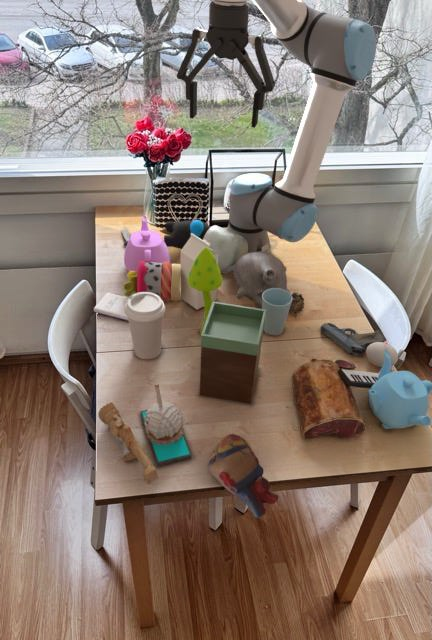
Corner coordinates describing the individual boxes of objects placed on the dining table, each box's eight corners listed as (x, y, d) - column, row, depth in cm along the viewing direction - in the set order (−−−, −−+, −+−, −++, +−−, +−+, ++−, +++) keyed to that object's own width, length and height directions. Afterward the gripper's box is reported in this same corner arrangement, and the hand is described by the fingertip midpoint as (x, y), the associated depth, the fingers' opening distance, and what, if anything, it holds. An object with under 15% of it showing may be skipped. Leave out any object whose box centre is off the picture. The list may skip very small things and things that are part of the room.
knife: (111, 228, 175) (125, 225, 177) (111, 232, 176) (125, 228, 178) (133, 253, 165) (148, 250, 167) (134, 257, 166) (149, 253, 168)
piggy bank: (295, 312, 147) (273, 276, 138) (242, 331, 154) (218, 298, 145) (292, 270, 159) (272, 234, 149) (243, 289, 165) (220, 256, 156)
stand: (210, 361, 134) (212, 312, 124) (258, 369, 133) (264, 320, 123) (199, 395, 126) (200, 346, 116) (250, 404, 125) (256, 355, 114)
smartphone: (157, 463, 111) (140, 411, 120) (157, 466, 111) (140, 413, 121) (192, 455, 112) (172, 404, 122) (192, 457, 113) (172, 406, 123)
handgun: (352, 309, 148) (320, 324, 143) (391, 337, 140) (359, 353, 135) (350, 316, 150) (318, 331, 144) (388, 344, 142) (356, 361, 137)
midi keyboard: (390, 373, 132) (403, 387, 129) (387, 377, 133) (399, 391, 130) (340, 367, 123) (352, 382, 119) (336, 372, 123) (348, 386, 120)
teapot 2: (348, 417, 122) (364, 381, 114) (369, 382, 130) (385, 347, 122) (414, 450, 117) (435, 415, 109) (431, 412, 126) (451, 377, 118)
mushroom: (197, 318, 146) (199, 234, 129) (225, 328, 144) (230, 244, 126) (181, 335, 141) (180, 250, 123) (209, 346, 138) (213, 261, 121)
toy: (165, 210, 163) (215, 213, 162) (168, 236, 173) (215, 239, 172) (162, 232, 159) (213, 235, 158) (165, 258, 169) (213, 261, 168)
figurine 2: (375, 330, 135) (370, 352, 140) (364, 342, 132) (359, 363, 136) (405, 342, 132) (399, 364, 136) (395, 355, 128) (389, 376, 133)
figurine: (147, 492, 107) (100, 429, 118) (165, 481, 109) (116, 419, 120) (141, 471, 102) (92, 407, 113) (160, 459, 103) (109, 397, 115)
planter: (245, 230, 152) (211, 218, 155) (227, 272, 152) (194, 259, 155) (255, 244, 163) (223, 233, 166) (238, 283, 164) (207, 270, 167)
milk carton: (196, 310, 149) (198, 249, 135) (180, 298, 152) (180, 237, 139) (216, 300, 152) (219, 240, 139) (200, 289, 156) (201, 228, 142)
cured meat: (351, 359, 137) (358, 338, 132) (382, 436, 119) (390, 415, 115) (281, 361, 135) (284, 340, 130) (301, 439, 118) (306, 418, 113)
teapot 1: (173, 284, 157) (172, 248, 148) (126, 287, 155) (122, 250, 146) (166, 248, 170) (165, 212, 162) (123, 249, 169) (120, 214, 160)
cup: (292, 334, 143) (298, 301, 136) (266, 341, 141) (271, 308, 134) (278, 317, 148) (283, 285, 141) (253, 324, 146) (256, 291, 138)
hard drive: (136, 323, 144) (94, 313, 146) (149, 306, 149) (108, 296, 152) (136, 318, 142) (93, 308, 145) (148, 301, 148) (107, 291, 151)
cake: (179, 288, 156) (126, 285, 155) (180, 255, 149) (125, 251, 148) (178, 309, 149) (123, 306, 147) (180, 275, 142) (122, 272, 140)
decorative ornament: (160, 414, 121) (151, 365, 110) (190, 426, 118) (183, 377, 107) (140, 438, 116) (128, 390, 105) (170, 452, 113) (162, 404, 103)
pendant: (308, 293, 150) (296, 285, 147) (308, 317, 147) (296, 309, 144) (294, 300, 153) (282, 293, 150) (294, 323, 150) (281, 316, 147)
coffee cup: (150, 333, 141) (147, 284, 131) (174, 351, 136) (173, 302, 126) (120, 349, 136) (115, 300, 126) (144, 369, 131) (141, 320, 121)
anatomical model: (198, 454, 114) (240, 510, 115) (204, 464, 101) (251, 528, 103) (234, 427, 114) (275, 483, 116) (245, 434, 102) (290, 497, 103)
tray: (212, 312, 124) (212, 301, 122) (265, 320, 123) (266, 309, 120) (200, 346, 115) (200, 335, 113) (257, 356, 114) (258, 344, 112)
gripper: (159, -2, 101) (162, 118, 116) (291, 13, 97) (277, 135, 112) (172, -9, 107) (173, 107, 122) (298, 5, 103) (283, 123, 117)
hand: (223, 120), depth 117 cm, fingers open, 13 cm apart
